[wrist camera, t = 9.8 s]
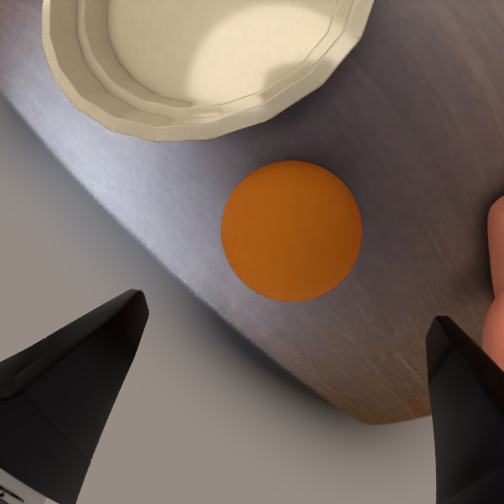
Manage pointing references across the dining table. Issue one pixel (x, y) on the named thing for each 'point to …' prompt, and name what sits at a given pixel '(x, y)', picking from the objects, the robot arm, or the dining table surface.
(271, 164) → the orange
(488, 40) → the dining table surface
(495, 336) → the teapot
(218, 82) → the bowl
